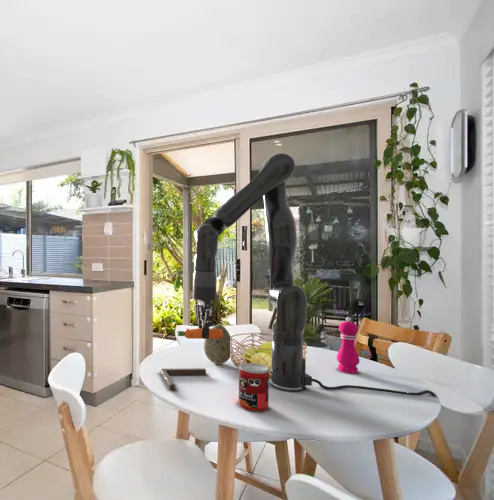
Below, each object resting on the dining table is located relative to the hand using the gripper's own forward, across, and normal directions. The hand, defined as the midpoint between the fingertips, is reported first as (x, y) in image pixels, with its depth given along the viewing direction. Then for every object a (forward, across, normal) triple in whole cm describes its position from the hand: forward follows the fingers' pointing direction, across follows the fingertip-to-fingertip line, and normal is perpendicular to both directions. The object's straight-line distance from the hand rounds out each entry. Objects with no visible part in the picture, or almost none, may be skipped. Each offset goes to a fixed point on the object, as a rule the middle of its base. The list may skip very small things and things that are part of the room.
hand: (203, 337), depth 123 cm
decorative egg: (+15, +21, -13) cm, 29 cm away
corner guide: (+15, +2, +4) cm, 16 cm away
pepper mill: (+15, +11, -59) cm, 62 cm away
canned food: (+15, -19, -8) cm, 26 cm away
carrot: (0, 0, 0) cm, 0 cm away
